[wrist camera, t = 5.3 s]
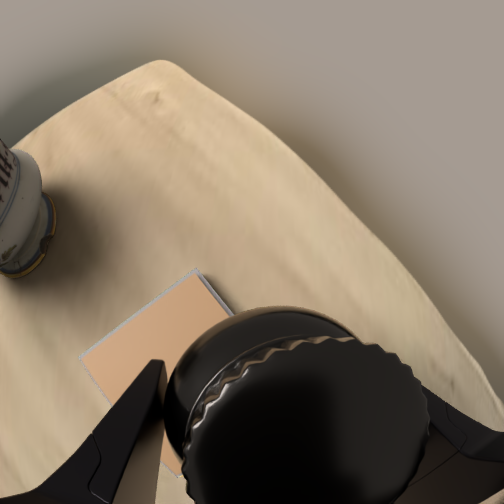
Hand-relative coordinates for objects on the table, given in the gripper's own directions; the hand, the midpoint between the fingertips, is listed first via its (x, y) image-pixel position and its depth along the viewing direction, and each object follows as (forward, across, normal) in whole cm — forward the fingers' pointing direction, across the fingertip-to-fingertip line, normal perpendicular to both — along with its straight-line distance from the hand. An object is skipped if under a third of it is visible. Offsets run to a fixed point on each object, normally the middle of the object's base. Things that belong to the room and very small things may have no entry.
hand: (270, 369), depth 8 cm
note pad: (+8, +4, +11) cm, 14 cm away
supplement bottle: (+4, 0, +6) cm, 8 cm away
